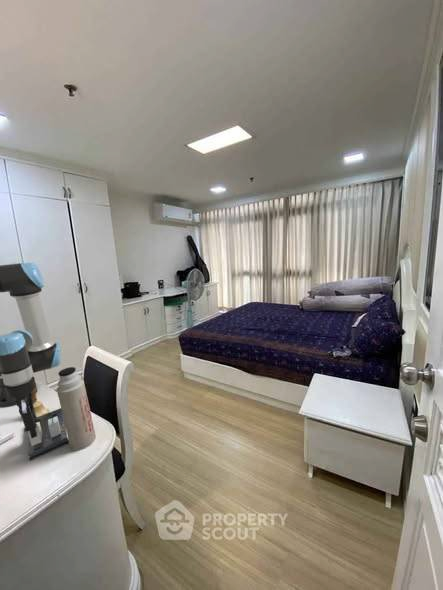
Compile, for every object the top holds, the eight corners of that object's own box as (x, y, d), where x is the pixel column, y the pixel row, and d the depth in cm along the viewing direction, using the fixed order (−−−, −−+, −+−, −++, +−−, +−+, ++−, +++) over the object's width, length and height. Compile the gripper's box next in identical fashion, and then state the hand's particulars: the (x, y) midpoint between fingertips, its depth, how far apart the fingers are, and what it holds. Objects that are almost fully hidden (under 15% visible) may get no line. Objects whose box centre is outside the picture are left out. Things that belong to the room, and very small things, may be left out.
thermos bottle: (100, 434, 91) (85, 364, 85) (84, 451, 83) (67, 376, 77) (82, 432, 92) (66, 364, 87) (65, 449, 85) (46, 376, 79)
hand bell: (46, 406, 111) (38, 374, 107) (52, 413, 105) (44, 379, 102) (23, 417, 104) (14, 383, 101) (28, 425, 99) (19, 389, 96)
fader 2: (51, 434, 90) (47, 419, 89) (60, 431, 92) (57, 415, 91) (52, 441, 87) (48, 425, 86) (61, 437, 89) (57, 421, 87)
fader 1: (33, 439, 89) (29, 423, 88) (43, 435, 90) (38, 420, 89) (33, 446, 86) (28, 430, 84) (43, 442, 87) (38, 426, 86)
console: (31, 425, 99) (30, 419, 98) (63, 412, 105) (62, 407, 105) (29, 460, 81) (27, 454, 81) (68, 443, 88) (66, 436, 87)
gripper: (6, 377, 82) (23, 437, 87) (1, 394, 72) (21, 461, 77) (34, 369, 86) (49, 427, 91) (33, 384, 76) (50, 448, 81)
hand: (36, 442), depth 84 cm, fingers closed
